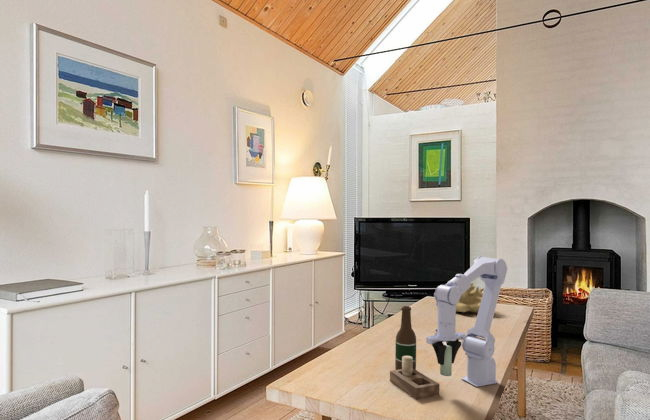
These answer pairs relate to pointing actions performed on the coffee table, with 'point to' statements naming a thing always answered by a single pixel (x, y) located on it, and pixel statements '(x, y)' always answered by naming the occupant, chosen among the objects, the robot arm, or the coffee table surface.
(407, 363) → the birch peg
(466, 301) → the decorative coral
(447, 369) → the green peg
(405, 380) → the socket board
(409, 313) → the beer bottle
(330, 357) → the coffee table surface
